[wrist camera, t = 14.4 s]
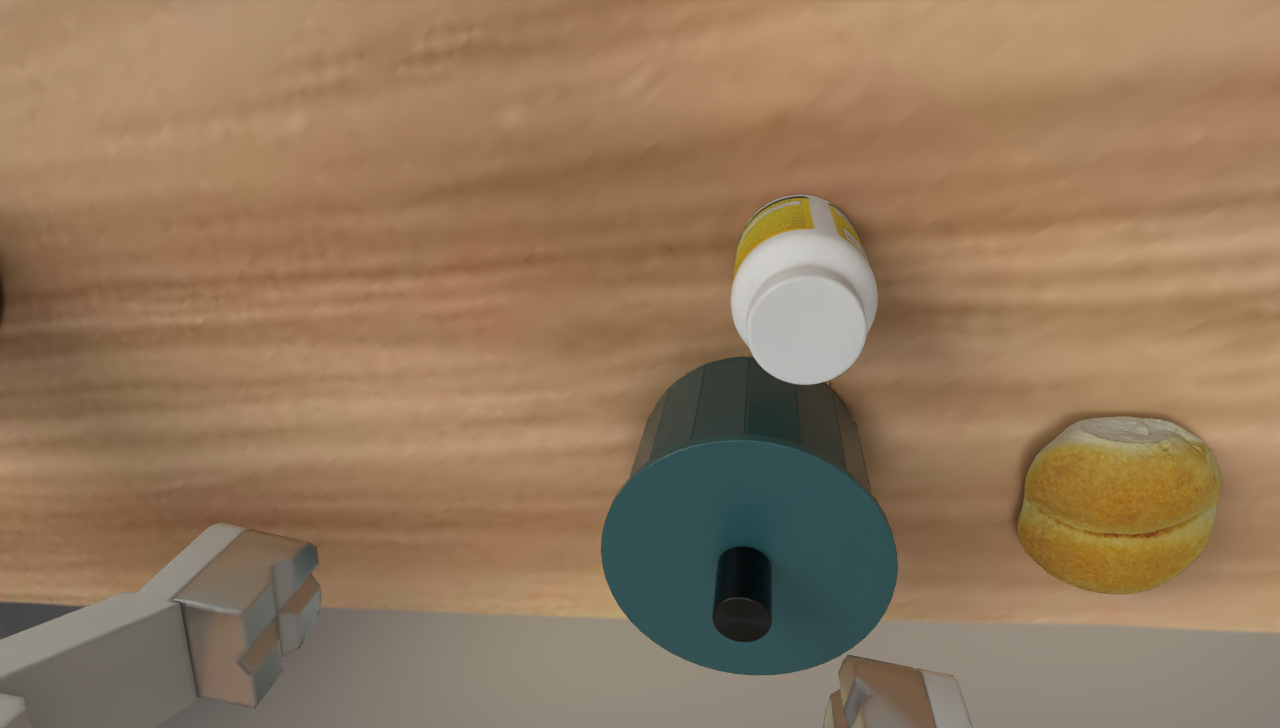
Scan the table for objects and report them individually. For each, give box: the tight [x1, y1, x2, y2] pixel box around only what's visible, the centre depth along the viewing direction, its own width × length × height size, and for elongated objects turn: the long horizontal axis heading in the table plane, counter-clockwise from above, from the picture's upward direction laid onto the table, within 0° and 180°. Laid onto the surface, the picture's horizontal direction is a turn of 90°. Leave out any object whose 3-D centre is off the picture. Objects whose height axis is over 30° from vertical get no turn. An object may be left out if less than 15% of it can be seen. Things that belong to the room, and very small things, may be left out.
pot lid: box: [601, 434, 898, 675], centre depth 29 cm, size 12×12×4 cm
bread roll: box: [1017, 416, 1222, 594], centre depth 34 cm, size 8×9×4 cm
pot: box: [629, 357, 872, 494], centre depth 34 cm, size 11×11×8 cm
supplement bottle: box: [731, 195, 878, 385], centre depth 29 cm, size 5×5×10 cm
